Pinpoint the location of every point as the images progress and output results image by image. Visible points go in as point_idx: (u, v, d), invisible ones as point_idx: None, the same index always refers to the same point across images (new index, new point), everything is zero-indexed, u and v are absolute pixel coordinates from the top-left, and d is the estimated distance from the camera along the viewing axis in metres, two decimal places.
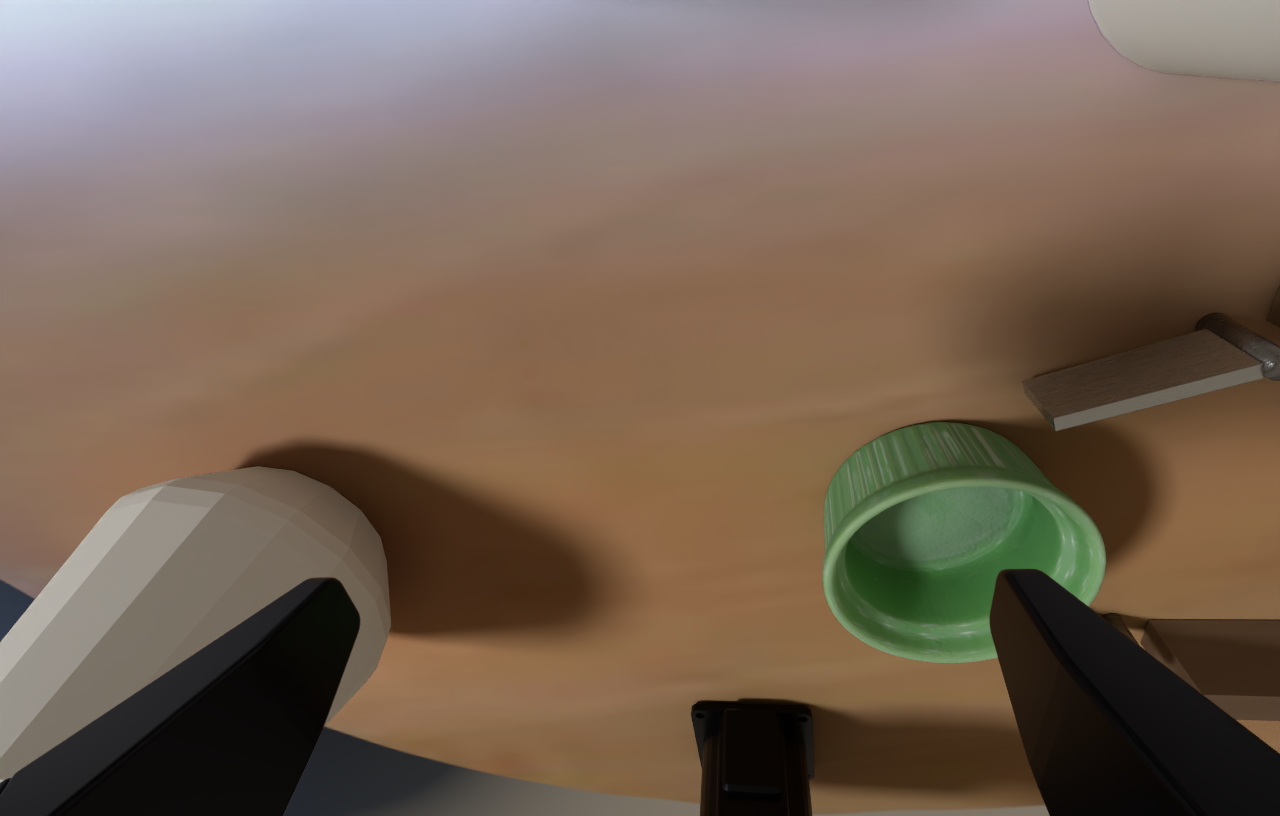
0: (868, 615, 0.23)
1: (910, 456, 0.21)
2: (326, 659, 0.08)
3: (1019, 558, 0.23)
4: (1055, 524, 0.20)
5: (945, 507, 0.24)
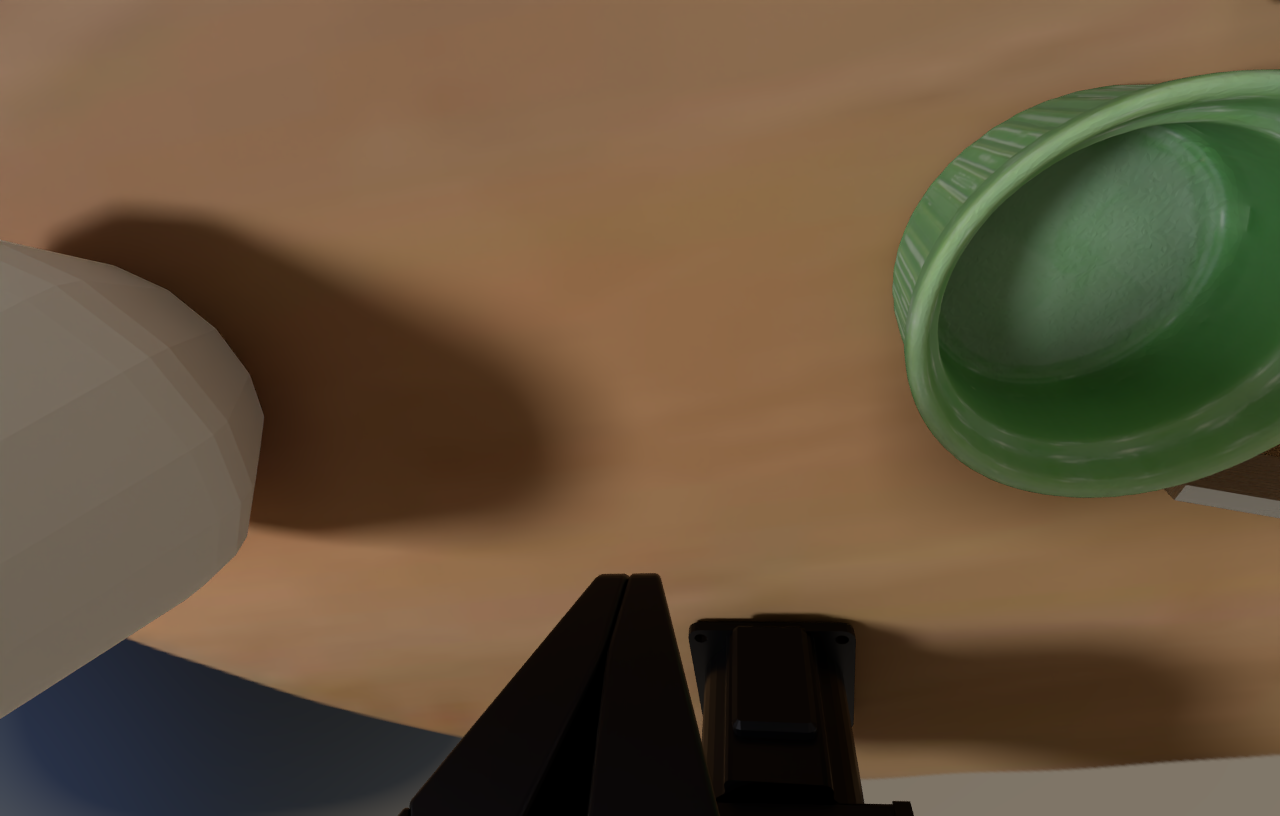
0: (971, 424, 0.14)
1: (1065, 110, 0.12)
2: None
3: (1214, 331, 0.14)
4: None
5: (1091, 258, 0.15)
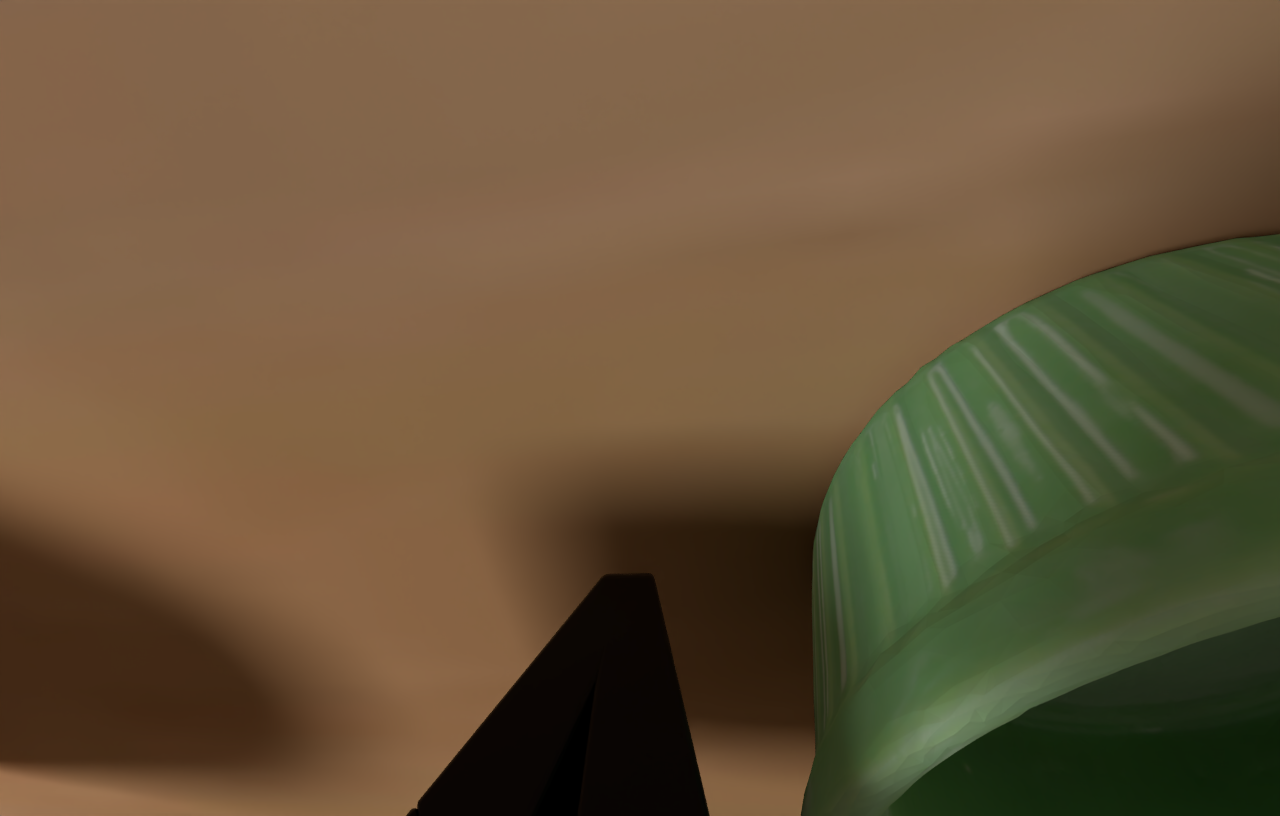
0: None
1: (1240, 341, 0.04)
2: None
3: None
4: None
5: None
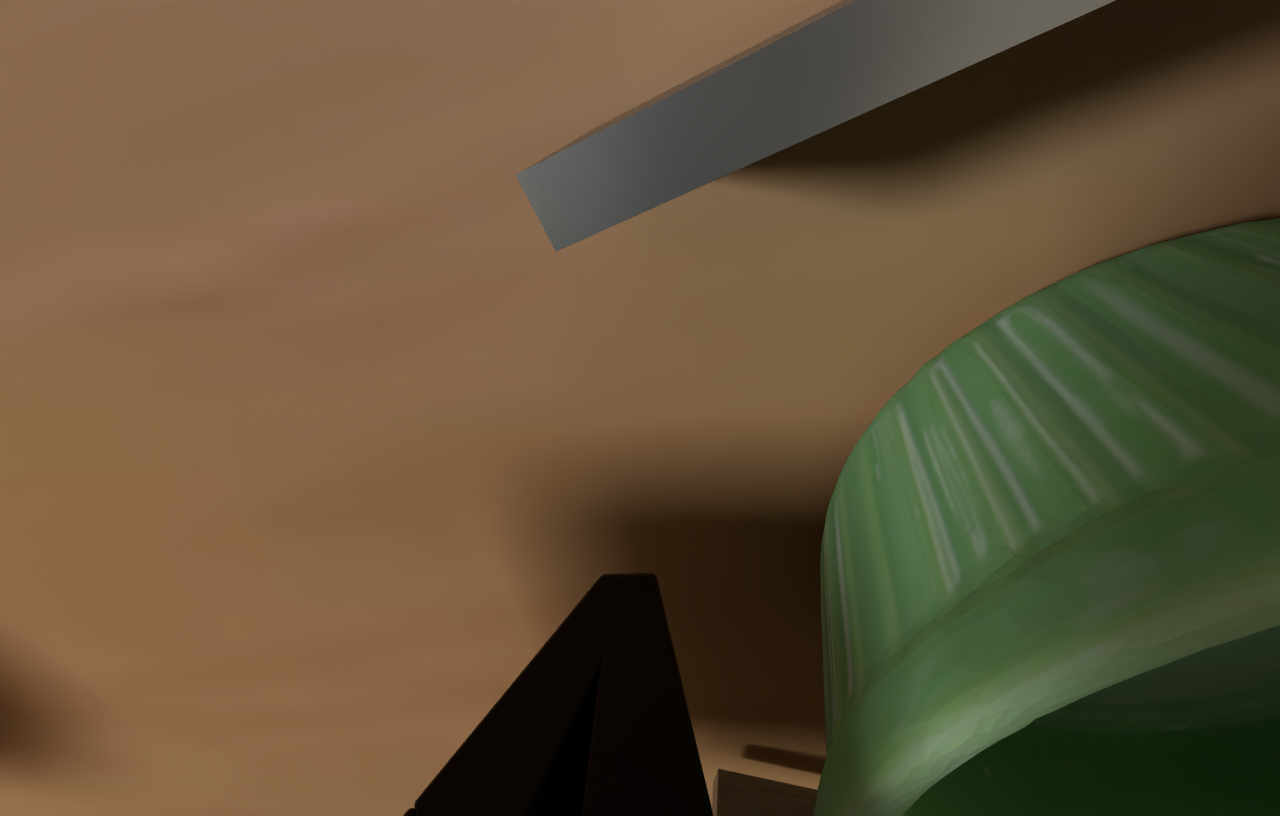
0: None
1: (1249, 330, 0.04)
2: None
3: None
4: None
5: None
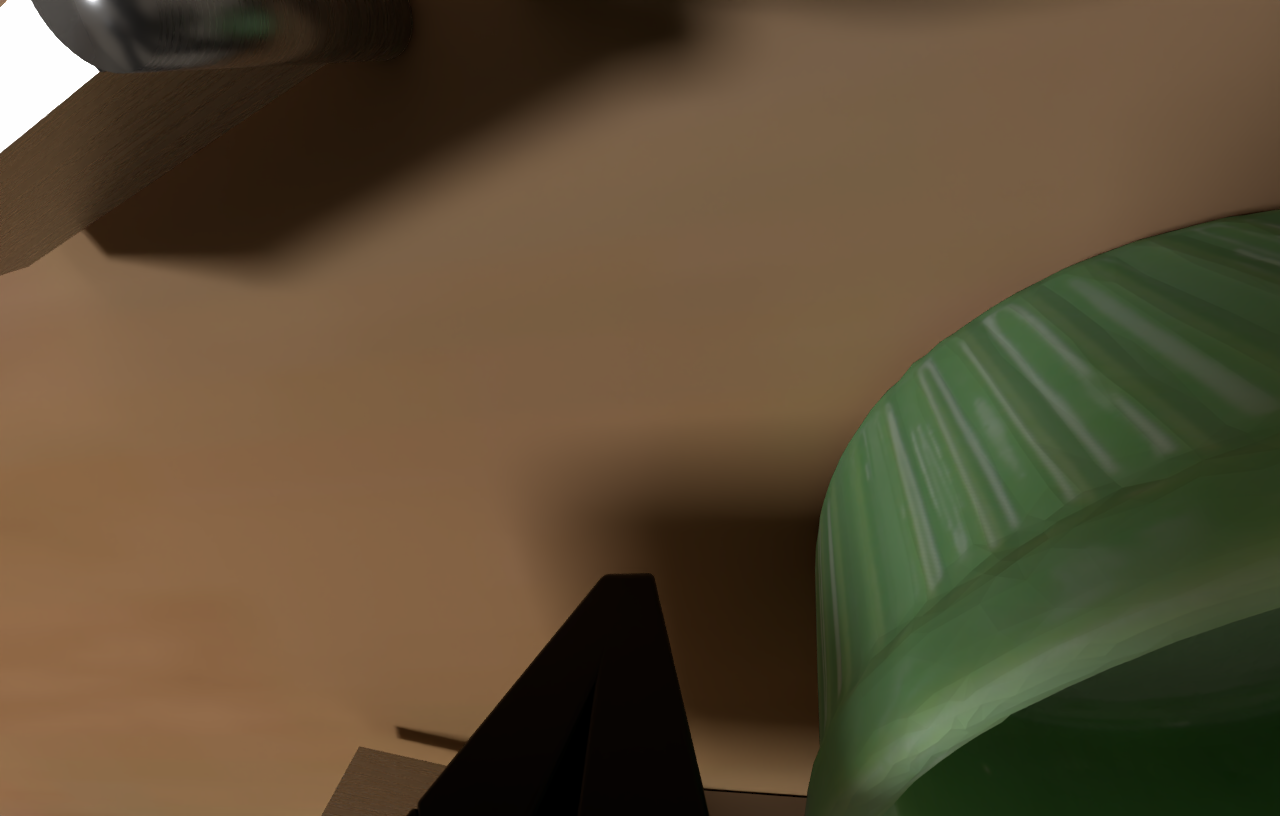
0: None
1: (1225, 325, 0.04)
2: None
3: None
4: None
5: None
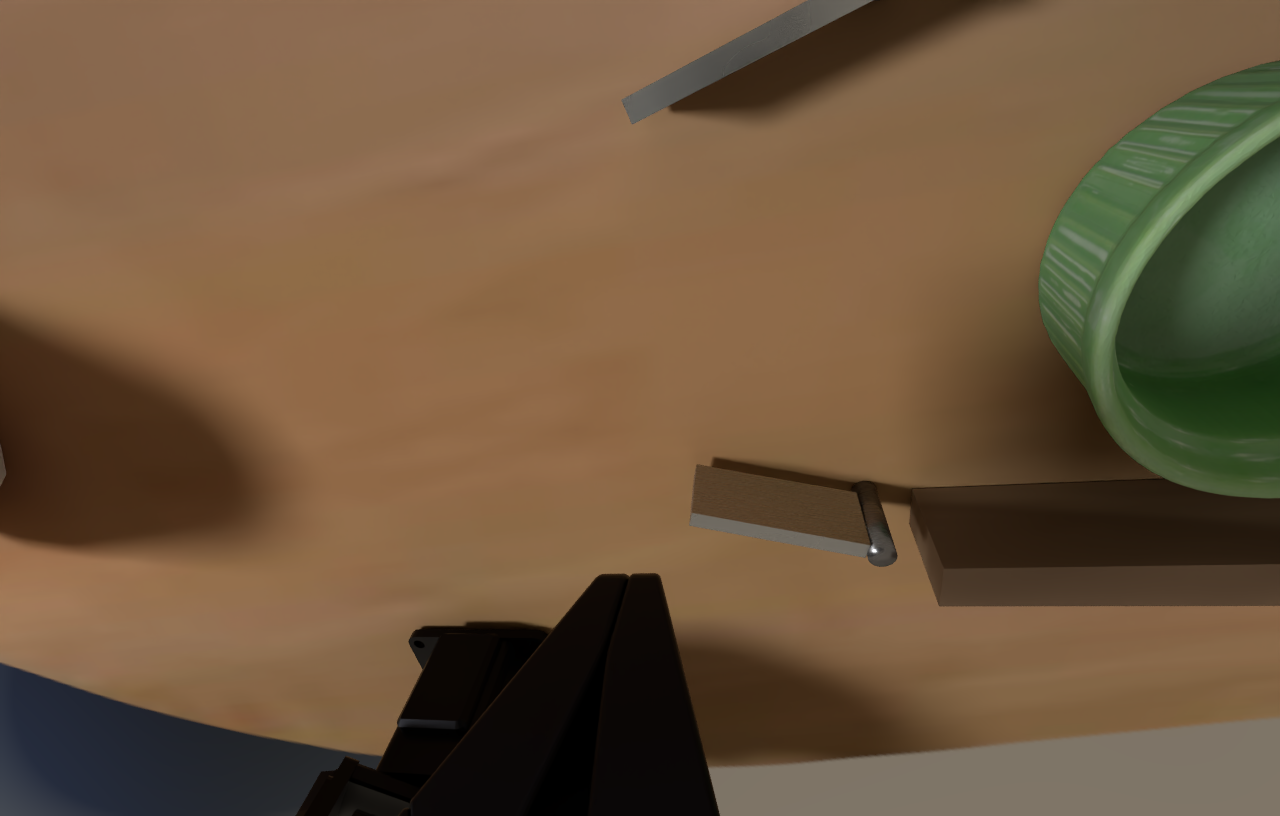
0: (1147, 424, 0.14)
1: (1268, 84, 0.11)
2: None
3: None
4: None
5: (1265, 241, 0.14)
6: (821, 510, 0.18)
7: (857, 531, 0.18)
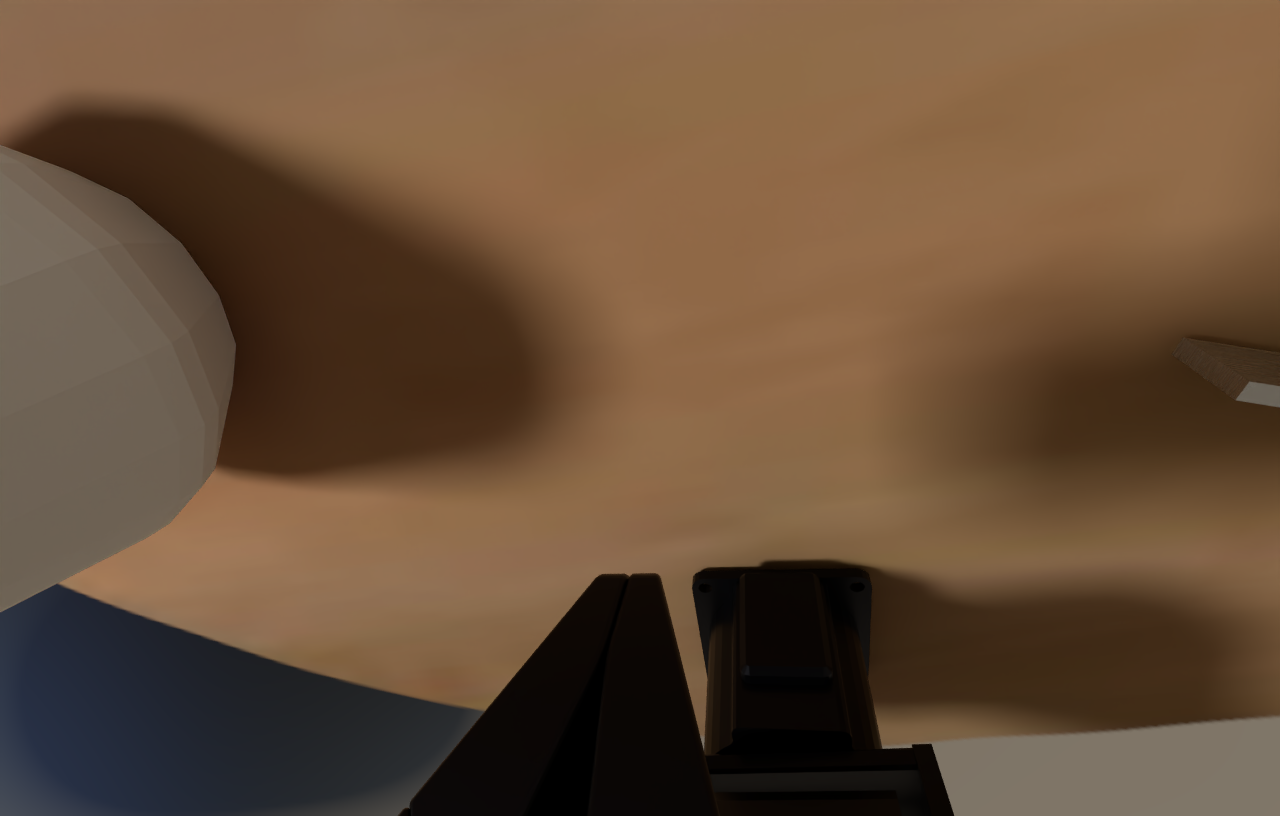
0: None
1: None
2: None
3: None
4: None
5: None
6: None
7: None
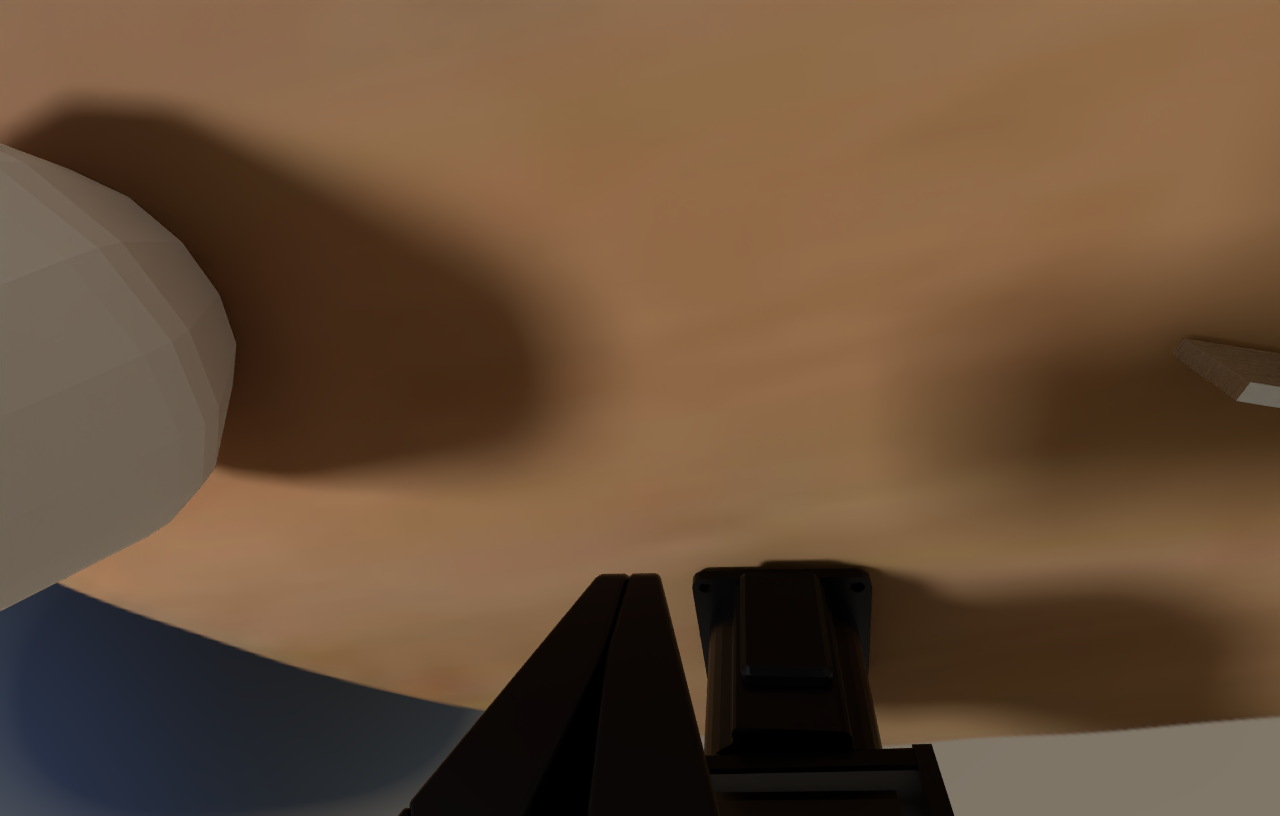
0: None
1: None
2: None
3: None
4: None
5: None
6: None
7: None
